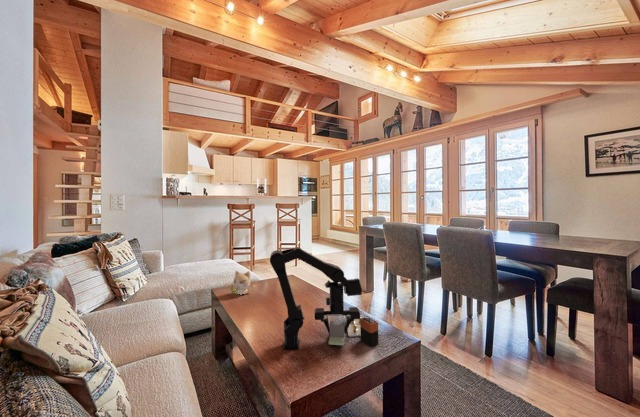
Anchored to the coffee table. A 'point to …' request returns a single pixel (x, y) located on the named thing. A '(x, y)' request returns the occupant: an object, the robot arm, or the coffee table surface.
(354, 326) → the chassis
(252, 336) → the coffee table surface
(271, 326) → the coffee table surface
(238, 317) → the coffee table surface
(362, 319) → the battery
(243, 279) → the kitten
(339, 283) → the robot arm
